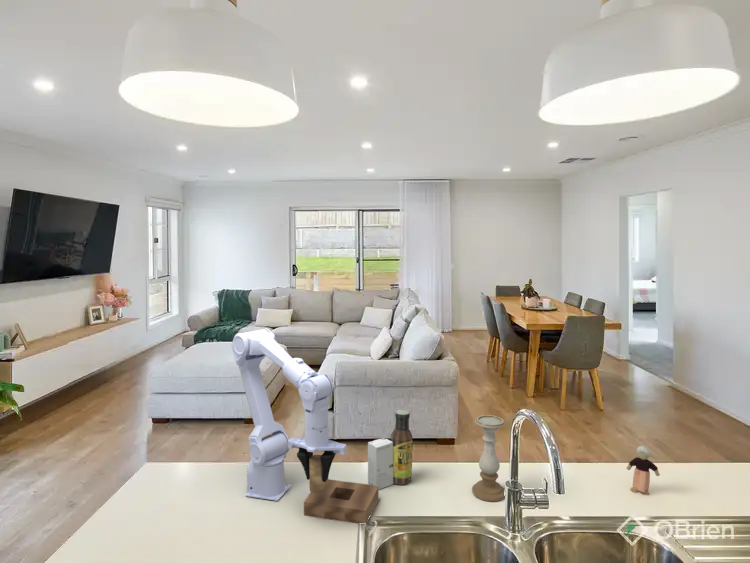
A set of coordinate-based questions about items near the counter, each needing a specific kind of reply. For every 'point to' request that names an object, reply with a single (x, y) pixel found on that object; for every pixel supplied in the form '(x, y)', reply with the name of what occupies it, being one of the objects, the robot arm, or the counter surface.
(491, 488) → the candle holder
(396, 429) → the sauce bottle
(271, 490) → the robot arm
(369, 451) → the skincare box
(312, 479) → the oak peg
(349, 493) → the walnut board
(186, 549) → the counter surface
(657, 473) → the grandmother figurine
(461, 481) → the counter surface
